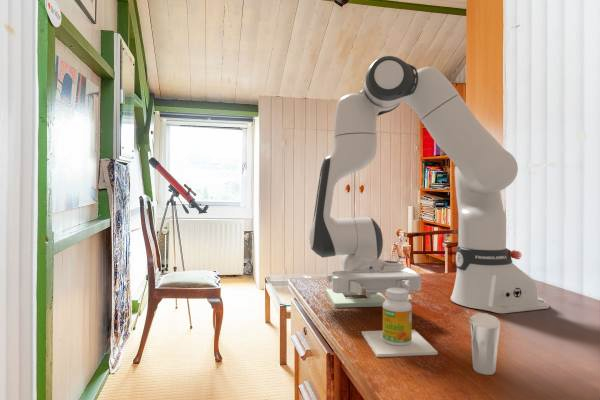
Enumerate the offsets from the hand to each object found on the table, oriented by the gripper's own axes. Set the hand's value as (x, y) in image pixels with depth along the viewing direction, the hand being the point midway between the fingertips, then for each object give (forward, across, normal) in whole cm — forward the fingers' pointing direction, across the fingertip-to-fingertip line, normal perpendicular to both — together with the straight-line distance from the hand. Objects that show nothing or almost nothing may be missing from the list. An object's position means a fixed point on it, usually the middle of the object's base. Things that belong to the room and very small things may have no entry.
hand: (384, 290), depth 84 cm
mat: (+8, 0, +8) cm, 11 cm away
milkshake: (+20, +10, +8) cm, 24 cm away
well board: (-22, -1, +8) cm, 23 cm away
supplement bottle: (+8, 0, +8) cm, 11 cm away
